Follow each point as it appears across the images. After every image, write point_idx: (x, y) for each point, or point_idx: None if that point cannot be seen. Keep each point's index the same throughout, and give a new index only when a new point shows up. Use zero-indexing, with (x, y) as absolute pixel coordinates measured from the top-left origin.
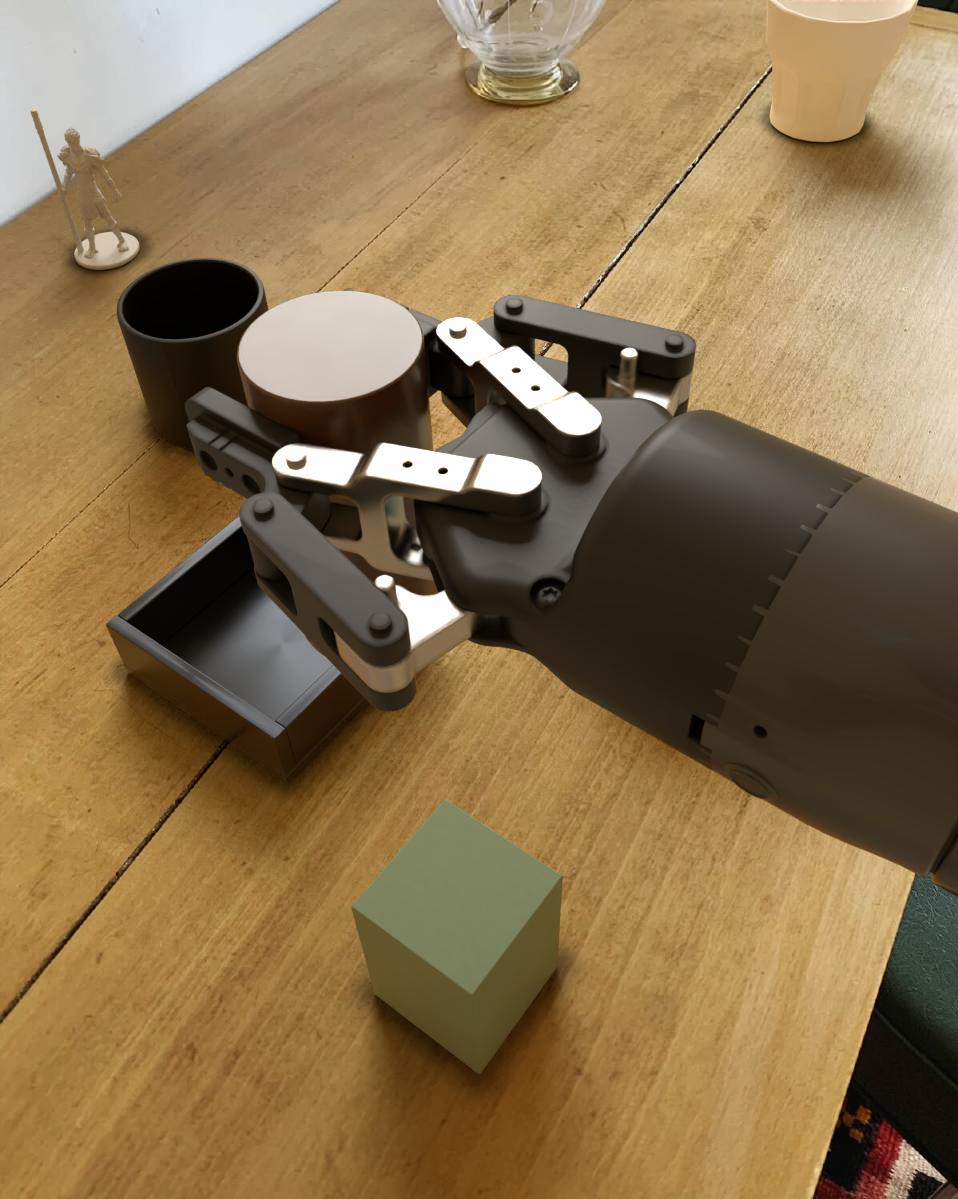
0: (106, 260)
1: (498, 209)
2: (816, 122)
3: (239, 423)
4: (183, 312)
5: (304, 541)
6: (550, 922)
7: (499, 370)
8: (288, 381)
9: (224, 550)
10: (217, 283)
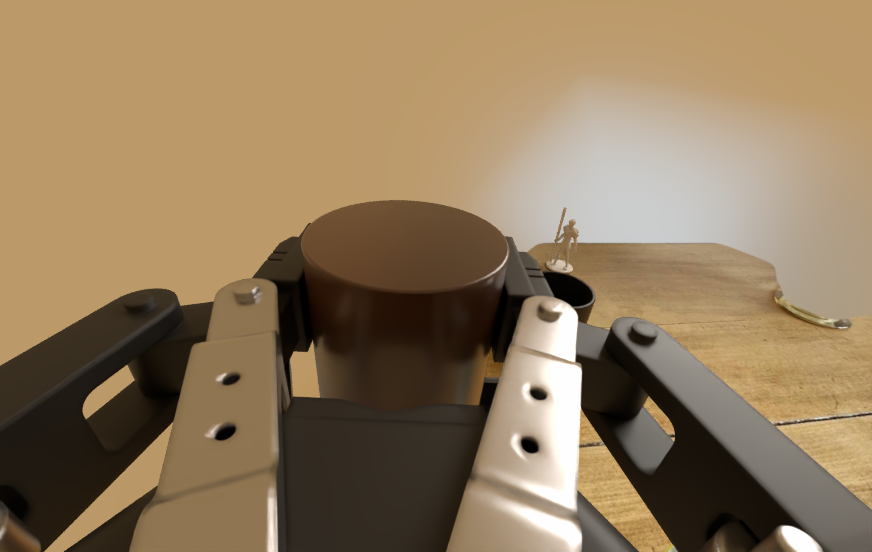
0: (555, 268)
1: (751, 350)
2: None
3: (292, 249)
4: (558, 294)
5: (65, 360)
6: None
7: (515, 374)
8: (329, 233)
9: (483, 386)
10: (578, 291)
